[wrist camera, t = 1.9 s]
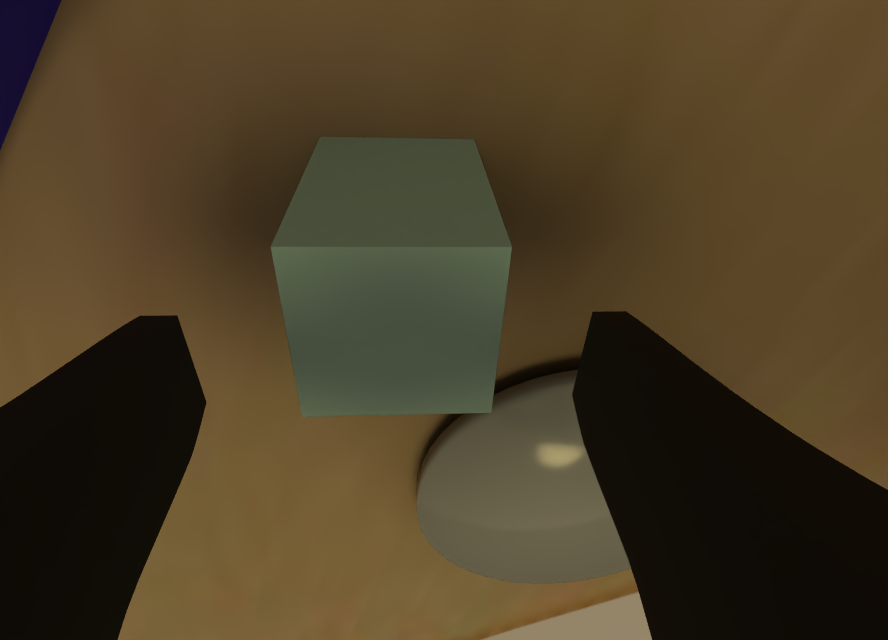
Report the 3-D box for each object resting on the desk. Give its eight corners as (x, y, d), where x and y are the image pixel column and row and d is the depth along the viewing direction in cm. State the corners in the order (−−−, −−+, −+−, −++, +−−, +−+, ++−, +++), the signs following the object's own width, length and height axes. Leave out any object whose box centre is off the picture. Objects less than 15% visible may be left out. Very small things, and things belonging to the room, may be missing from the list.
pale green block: (473, 139, 13) (511, 247, 9) (465, 270, 16) (490, 412, 11) (320, 136, 13) (270, 246, 8) (334, 270, 16) (301, 416, 11)
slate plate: (774, 353, 19) (799, 382, 17) (669, 548, 26) (682, 577, 25) (416, 358, 18) (417, 388, 17) (416, 558, 25) (416, 589, 24)
